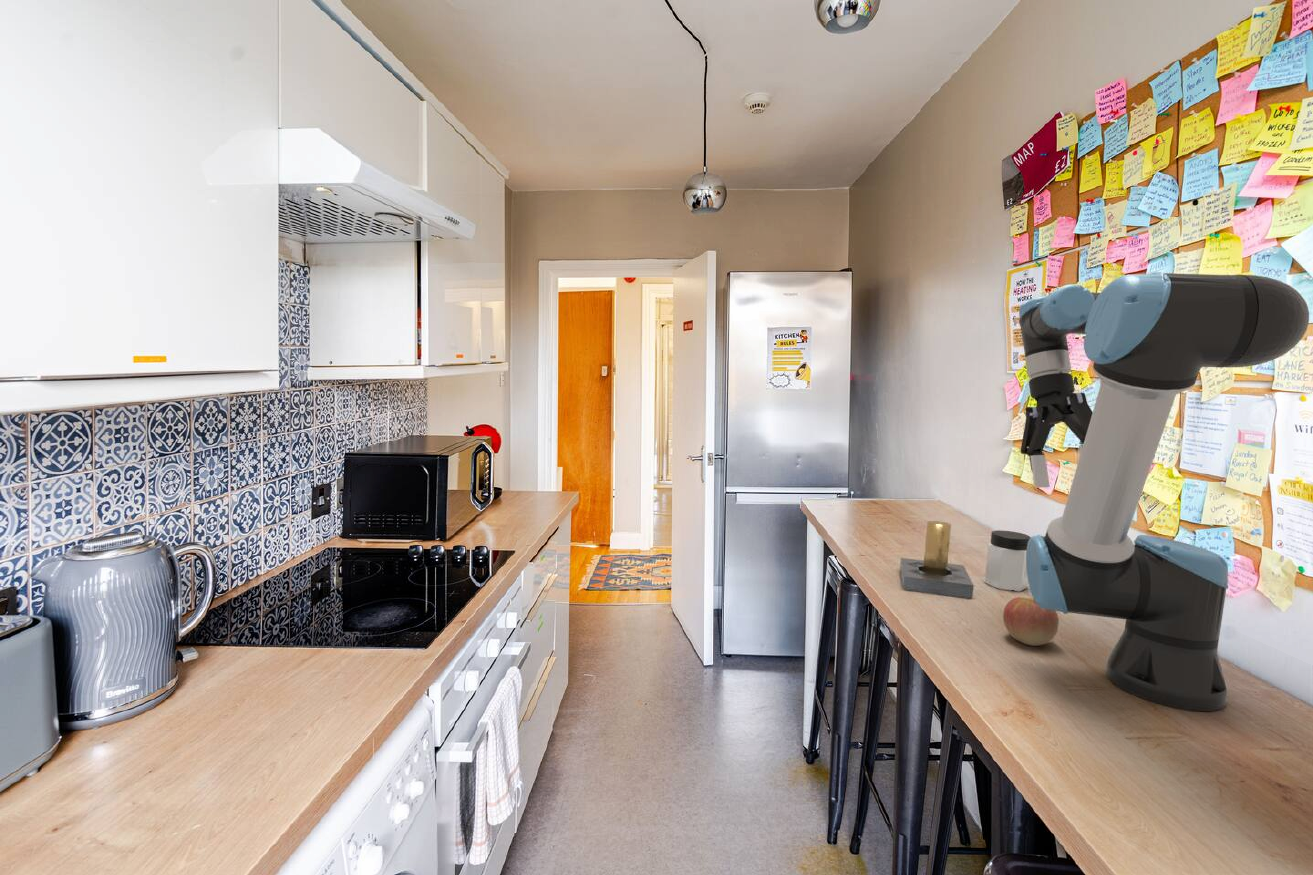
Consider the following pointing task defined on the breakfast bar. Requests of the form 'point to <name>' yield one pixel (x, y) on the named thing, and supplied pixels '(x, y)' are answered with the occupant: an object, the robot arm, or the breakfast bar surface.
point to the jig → (936, 579)
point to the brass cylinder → (937, 548)
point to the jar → (1007, 561)
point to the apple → (1030, 621)
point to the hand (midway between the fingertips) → (1066, 484)
